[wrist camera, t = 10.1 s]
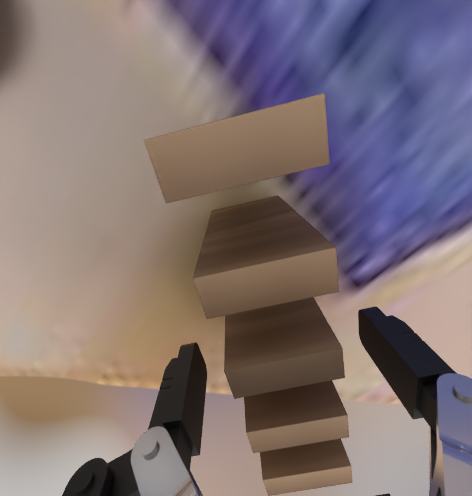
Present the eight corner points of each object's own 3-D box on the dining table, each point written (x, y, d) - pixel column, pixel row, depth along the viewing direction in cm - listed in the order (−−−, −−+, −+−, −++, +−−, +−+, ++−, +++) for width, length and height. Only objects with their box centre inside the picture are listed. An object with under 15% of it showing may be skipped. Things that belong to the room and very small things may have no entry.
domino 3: (226, 264, 19) (224, 371, 10) (286, 250, 19) (342, 347, 10) (231, 283, 20) (234, 398, 11) (289, 270, 19) (344, 377, 10)
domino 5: (248, 345, 22) (262, 480, 13) (300, 335, 22) (351, 466, 13) (252, 358, 23) (268, 495, 14) (302, 348, 23) (352, 482, 14)
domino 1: (194, 147, 16) (144, 140, 6) (267, 128, 15) (324, 93, 6) (201, 174, 16) (166, 203, 7) (271, 156, 16) (329, 164, 7)
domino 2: (211, 211, 17) (192, 278, 8) (277, 195, 17) (335, 247, 8) (218, 233, 18) (206, 318, 9) (281, 218, 18) (338, 291, 9)
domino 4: (238, 307, 21) (246, 432, 12) (294, 296, 20) (347, 415, 11) (242, 323, 21) (253, 453, 12) (296, 312, 21) (348, 437, 12)
